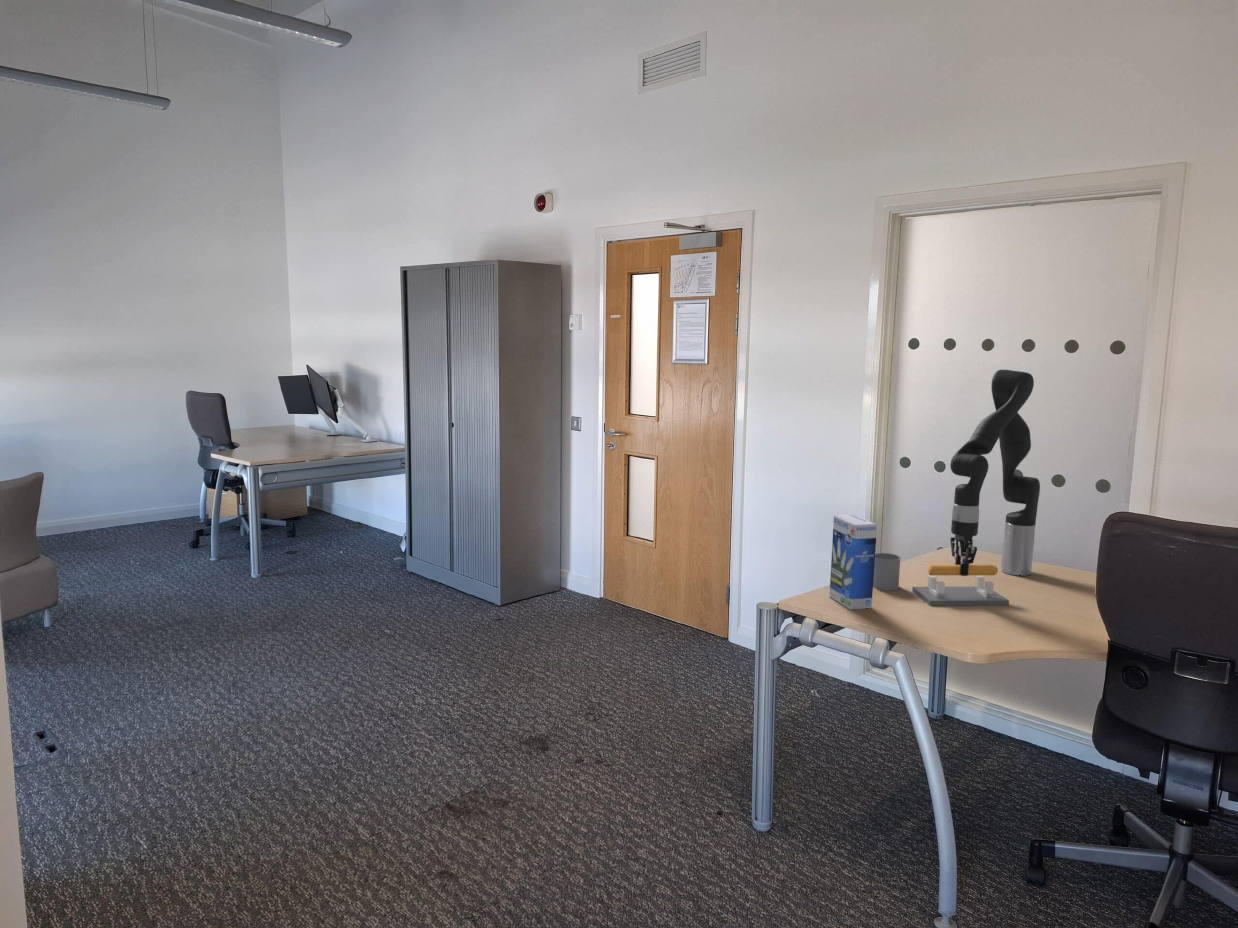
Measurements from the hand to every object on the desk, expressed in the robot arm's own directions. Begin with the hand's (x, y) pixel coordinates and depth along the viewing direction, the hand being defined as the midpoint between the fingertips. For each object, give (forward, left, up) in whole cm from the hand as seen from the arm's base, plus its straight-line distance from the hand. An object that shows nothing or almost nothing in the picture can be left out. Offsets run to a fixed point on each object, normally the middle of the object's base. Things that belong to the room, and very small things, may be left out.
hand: (961, 573), depth 255 cm
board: (0, 0, -8) cm, 8 cm away
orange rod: (0, 0, -1) cm, 1 cm away
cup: (-12, -19, -8) cm, 24 cm away
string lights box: (+4, -35, -8) cm, 36 cm away
